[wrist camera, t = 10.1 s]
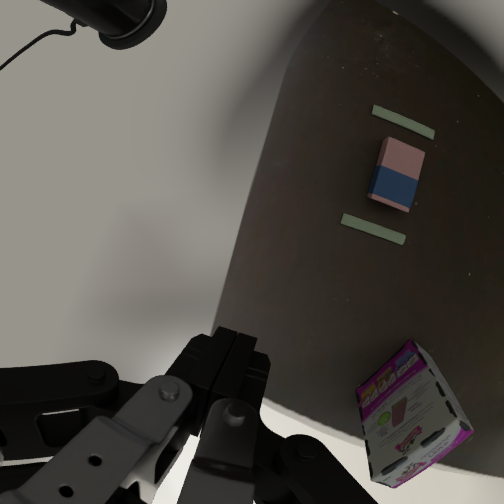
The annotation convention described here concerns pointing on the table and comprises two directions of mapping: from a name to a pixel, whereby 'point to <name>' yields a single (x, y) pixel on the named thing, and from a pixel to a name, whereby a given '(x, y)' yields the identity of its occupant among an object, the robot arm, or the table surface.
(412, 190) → the eraser
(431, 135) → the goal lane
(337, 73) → the table surface
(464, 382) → the table surface
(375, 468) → the candy bar box
